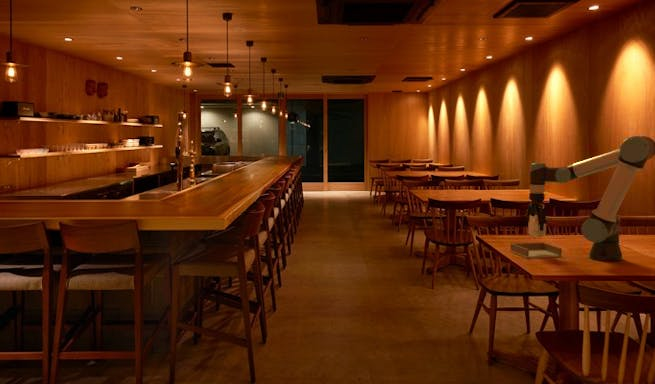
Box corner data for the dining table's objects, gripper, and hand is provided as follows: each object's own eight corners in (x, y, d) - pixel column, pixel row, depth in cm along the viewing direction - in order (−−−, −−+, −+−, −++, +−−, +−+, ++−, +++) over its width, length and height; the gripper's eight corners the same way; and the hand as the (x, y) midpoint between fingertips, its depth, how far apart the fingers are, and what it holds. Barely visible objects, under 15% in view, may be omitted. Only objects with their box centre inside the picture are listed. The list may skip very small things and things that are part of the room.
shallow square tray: (561, 257, 296) (561, 248, 296) (526, 258, 293) (526, 249, 293) (543, 250, 314) (543, 242, 313) (510, 251, 311) (510, 243, 311)
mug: (540, 238, 295) (541, 218, 294) (524, 236, 300) (525, 216, 299) (547, 235, 304) (548, 215, 303) (531, 233, 309) (532, 214, 308)
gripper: (555, 194, 290) (553, 238, 293) (533, 190, 312) (531, 231, 314) (541, 194, 289) (539, 238, 291) (520, 190, 311) (518, 231, 313)
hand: (535, 235), depth 303 cm, fingers closed on mug, 9 cm apart
